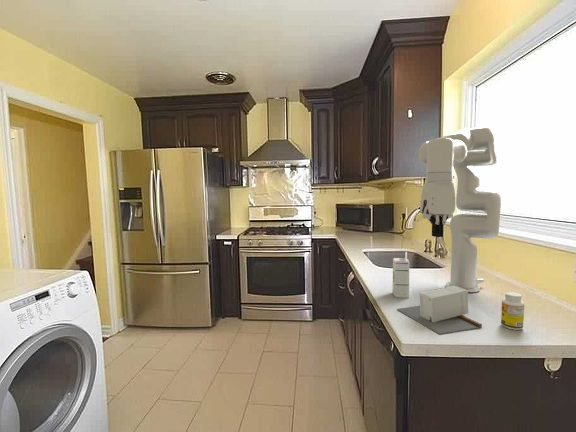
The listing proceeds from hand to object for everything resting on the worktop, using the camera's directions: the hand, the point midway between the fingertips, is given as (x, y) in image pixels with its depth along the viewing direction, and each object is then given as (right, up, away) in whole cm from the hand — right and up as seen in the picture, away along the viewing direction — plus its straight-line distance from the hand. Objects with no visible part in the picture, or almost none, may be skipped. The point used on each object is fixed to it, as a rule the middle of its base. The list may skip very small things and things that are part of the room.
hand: (437, 236), depth 100 cm
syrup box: (-3, -25, +25) cm, 36 cm away
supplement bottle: (+21, -28, -4) cm, 35 cm away
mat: (0, -27, +2) cm, 27 cm away
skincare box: (+10, -21, +4) cm, 24 cm away
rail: (+8, -27, +4) cm, 28 cm away
